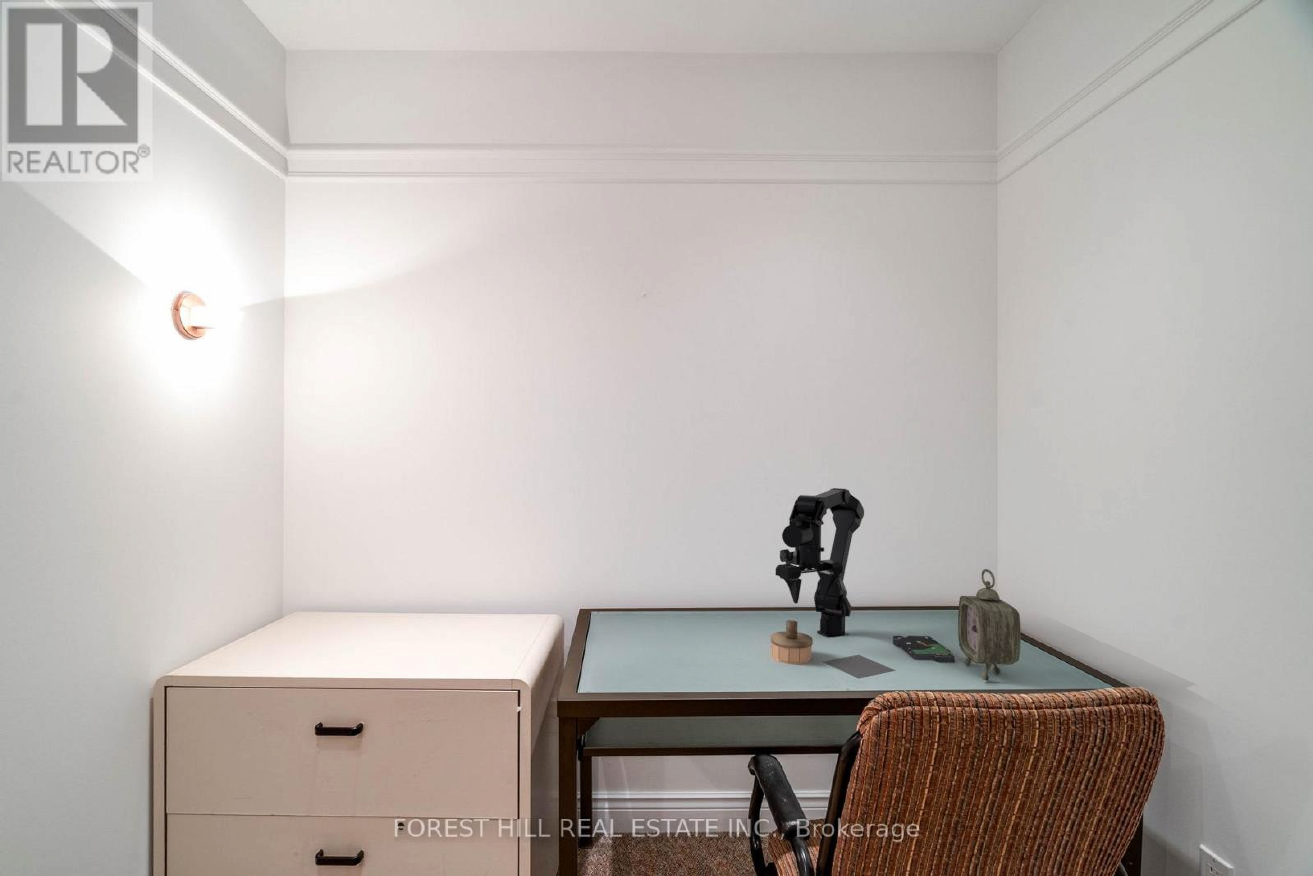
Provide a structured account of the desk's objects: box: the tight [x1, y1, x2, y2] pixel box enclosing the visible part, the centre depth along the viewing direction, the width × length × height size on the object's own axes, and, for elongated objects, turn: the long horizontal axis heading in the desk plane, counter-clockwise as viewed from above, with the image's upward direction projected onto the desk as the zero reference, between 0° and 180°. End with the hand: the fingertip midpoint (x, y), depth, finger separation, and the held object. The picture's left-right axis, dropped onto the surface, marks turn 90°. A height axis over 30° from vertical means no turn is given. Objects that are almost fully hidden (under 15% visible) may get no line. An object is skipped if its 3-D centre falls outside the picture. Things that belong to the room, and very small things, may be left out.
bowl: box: [770, 641, 813, 665], centre depth 162 cm, size 10×10×4 cm
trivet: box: [822, 654, 896, 679], centre depth 156 cm, size 12×12×1 cm
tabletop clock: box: [957, 568, 1022, 682], centre depth 154 cm, size 14×9×25 cm, turn 174°
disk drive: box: [892, 635, 955, 664], centre depth 168 cm, size 10×3×15 cm
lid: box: [770, 619, 814, 648], centre depth 162 cm, size 10×10×5 cm
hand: (809, 601), depth 171 cm, fingers open, 9 cm apart
